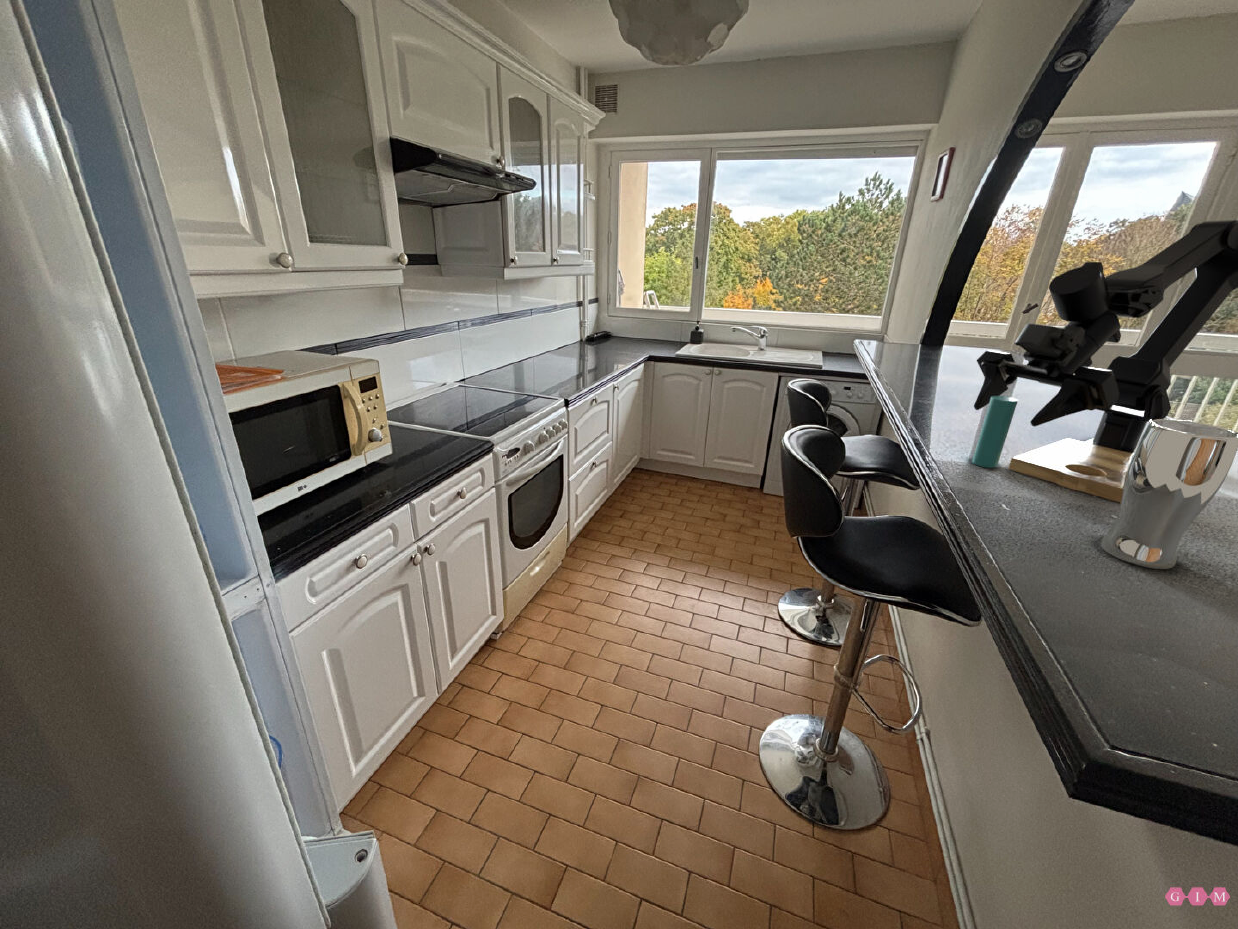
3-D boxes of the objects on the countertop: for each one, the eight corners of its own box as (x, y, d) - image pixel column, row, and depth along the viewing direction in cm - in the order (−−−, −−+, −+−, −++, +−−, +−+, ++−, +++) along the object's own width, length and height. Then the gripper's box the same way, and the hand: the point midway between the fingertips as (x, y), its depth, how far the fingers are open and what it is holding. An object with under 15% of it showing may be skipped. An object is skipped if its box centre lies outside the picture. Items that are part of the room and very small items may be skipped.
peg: (978, 459, 85) (997, 394, 80) (1001, 465, 82) (1022, 399, 78) (967, 462, 83) (986, 397, 79) (990, 469, 80) (1011, 402, 76)
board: (1063, 448, 90) (1067, 438, 89) (1171, 476, 79) (1177, 464, 78) (1006, 469, 80) (1010, 457, 80) (1120, 504, 69) (1126, 490, 68)
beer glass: (1198, 576, 53) (1269, 441, 48) (1121, 567, 54) (1181, 435, 49) (1148, 542, 59) (1205, 420, 54) (1081, 535, 61) (1129, 416, 55)
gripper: (1002, 300, 83) (933, 369, 84) (1139, 310, 67) (1051, 397, 68) (1021, 347, 88) (956, 412, 89) (1153, 368, 72) (1071, 447, 73)
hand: (1002, 415), depth 80 cm, fingers open, 9 cm apart
